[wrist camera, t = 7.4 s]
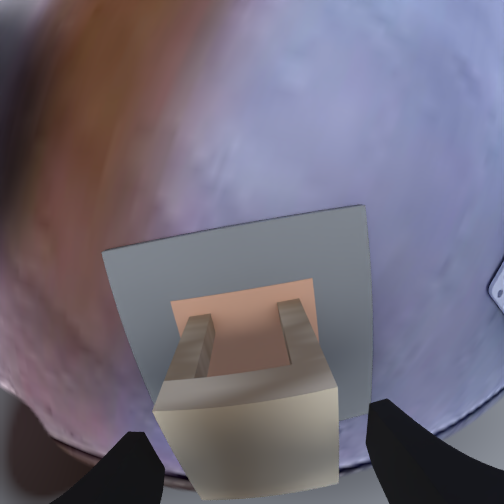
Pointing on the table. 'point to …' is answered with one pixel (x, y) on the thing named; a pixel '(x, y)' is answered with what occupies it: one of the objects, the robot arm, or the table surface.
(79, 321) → the table surface
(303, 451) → the stool
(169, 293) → the mat
